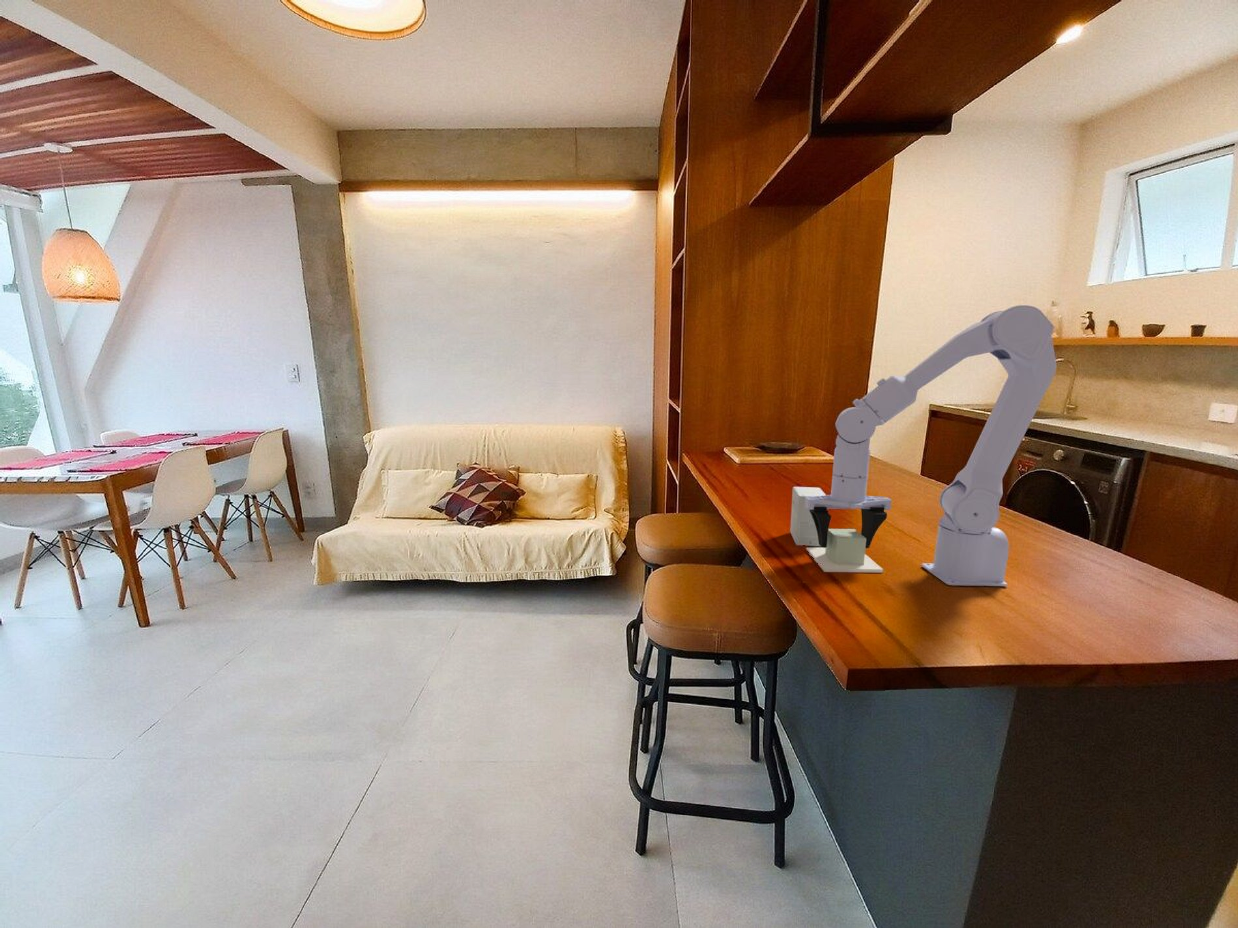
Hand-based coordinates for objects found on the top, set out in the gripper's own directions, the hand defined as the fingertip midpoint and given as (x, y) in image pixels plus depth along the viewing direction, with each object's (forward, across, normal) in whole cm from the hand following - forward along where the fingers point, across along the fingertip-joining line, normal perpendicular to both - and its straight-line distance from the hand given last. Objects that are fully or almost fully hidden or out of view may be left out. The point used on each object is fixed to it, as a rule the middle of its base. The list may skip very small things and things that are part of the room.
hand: (843, 546), depth 87 cm
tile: (+3, 0, 0) cm, 3 cm away
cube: (+2, 0, -1) cm, 2 cm away
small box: (+3, -3, +11) cm, 12 cm away
